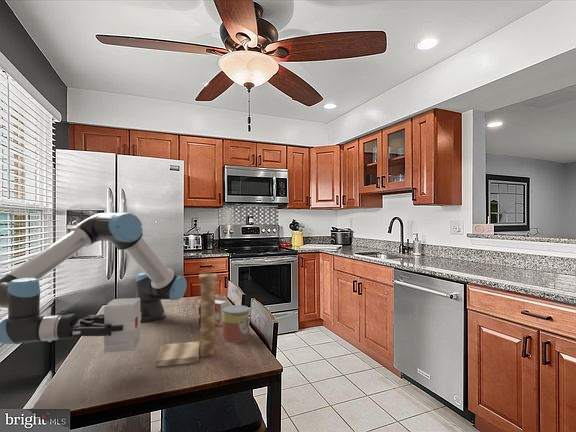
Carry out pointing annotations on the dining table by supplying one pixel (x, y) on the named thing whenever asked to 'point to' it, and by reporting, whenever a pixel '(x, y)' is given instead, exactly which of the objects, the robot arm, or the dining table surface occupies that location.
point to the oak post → (207, 313)
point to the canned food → (235, 323)
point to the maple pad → (178, 353)
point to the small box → (219, 311)
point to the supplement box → (116, 314)
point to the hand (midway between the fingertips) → (138, 320)
